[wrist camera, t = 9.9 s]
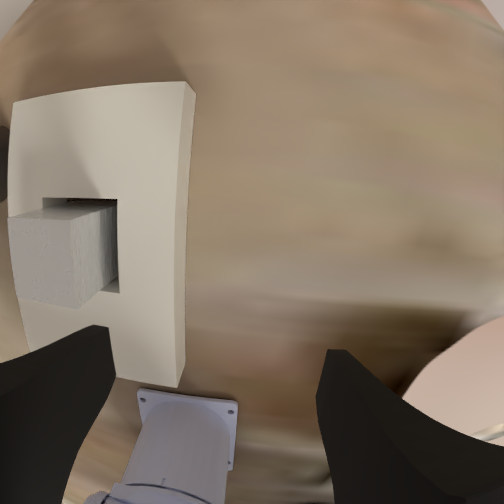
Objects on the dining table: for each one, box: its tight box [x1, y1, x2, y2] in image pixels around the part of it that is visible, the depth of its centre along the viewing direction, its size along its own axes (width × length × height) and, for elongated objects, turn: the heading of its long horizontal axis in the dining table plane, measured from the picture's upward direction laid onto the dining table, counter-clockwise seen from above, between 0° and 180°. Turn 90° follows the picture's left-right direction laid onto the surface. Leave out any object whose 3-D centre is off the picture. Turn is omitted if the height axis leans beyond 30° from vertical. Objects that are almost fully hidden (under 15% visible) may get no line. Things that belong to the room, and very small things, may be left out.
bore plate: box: [8, 81, 196, 388], centre depth 18 cm, size 18×12×3 cm, turn 175°
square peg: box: [7, 201, 119, 309], centre depth 16 cm, size 4×4×7 cm
